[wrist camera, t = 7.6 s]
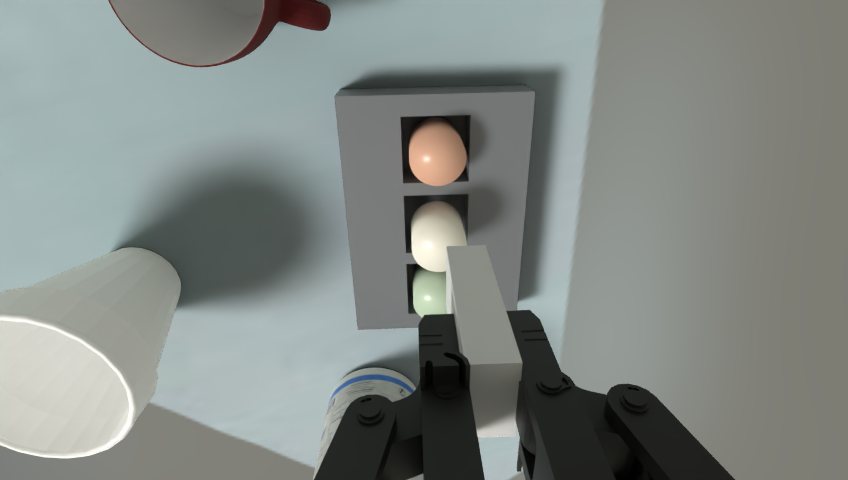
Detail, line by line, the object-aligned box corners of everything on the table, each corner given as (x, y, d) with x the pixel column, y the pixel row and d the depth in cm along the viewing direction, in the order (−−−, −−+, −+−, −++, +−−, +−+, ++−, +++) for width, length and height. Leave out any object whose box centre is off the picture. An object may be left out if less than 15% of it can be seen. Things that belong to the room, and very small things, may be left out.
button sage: (411, 257, 41) (412, 281, 37) (458, 255, 41) (463, 279, 37) (413, 296, 43) (413, 322, 39) (457, 294, 43) (462, 321, 39)
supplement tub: (433, 417, 51) (443, 560, 38) (352, 440, 52) (334, 587, 39) (401, 351, 47) (400, 487, 34) (314, 377, 48) (279, 519, 35)
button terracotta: (407, 118, 36) (408, 131, 32) (461, 116, 36) (467, 129, 32) (409, 169, 37) (410, 186, 34) (460, 167, 37) (466, 185, 34)
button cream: (410, 201, 36) (410, 223, 33) (462, 200, 37) (468, 221, 33) (411, 247, 38) (412, 272, 35) (461, 246, 38) (466, 271, 35)
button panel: (339, 89, 35) (334, 96, 33) (525, 84, 36) (535, 91, 33) (360, 309, 44) (357, 329, 42) (508, 304, 45) (515, 323, 42)
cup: (208, 346, 46) (137, 471, 34) (72, 322, 44) (-56, 445, 32) (217, 235, 40) (135, 336, 28) (62, 203, 39) (-96, 296, 27)
